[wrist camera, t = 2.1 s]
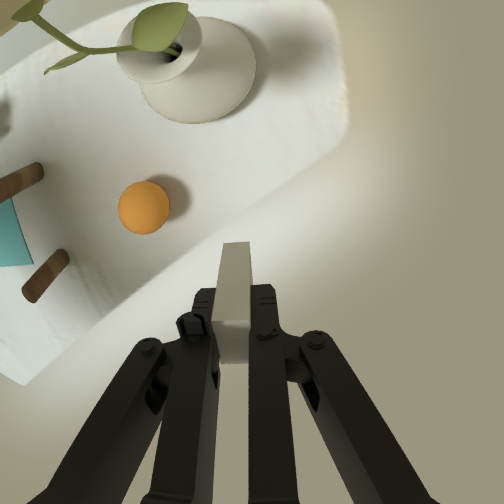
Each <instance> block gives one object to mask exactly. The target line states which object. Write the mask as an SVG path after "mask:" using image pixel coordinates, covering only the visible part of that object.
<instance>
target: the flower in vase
mask: <svg viewBox="0 0 504 504" xmlns="http://www.w3.org/2000/svg"><path fill="white" fill-rule="evenodd" d="M49 1H50V0H0V37H1V36H2V35H4V34H5V33H6V32H8V31H9V30H10V29H12V28H13V27H14V26H16V25H17V24H18V23H19V22H26V21H30V20H32V21H33V22H34V23H35V24H37V25H38V26H39V27H41V28H42V29H43V30H45V31H46V32H47V33H49V34H50V35H52V36H53V37H54V38H56V39H57V40H59V41H60V42H62V43H63V44H65V45H66V46H68V47H69V48H71V49H73V50H75V51H77V52H79V53H76V54H73V55H71V56H68V57H66V58H64V59H63V60H61V61H59V62H58V63H56V64H55V65H54V66H52V67H50V68H48V69H46V70H45V71H44V75H45V74H46V73H47V72H49V71H50V70H57V69H60V68H63V67H66V66H68V65H71V64H73V63H75V62H78V61H79V60H81V59H83V58H85V57H86V56H88V55H90V54H92V55H94V54H107V53H117V61H118V64H119V66H120V68H121V70H122V71H123V72H124V74H125V75H127V76H128V77H129V78H130V79H132V80H134V81H136V82H139V84H140V88H141V91H142V94H143V96H144V98H145V100H146V101H147V103H148V104H149V105H150V106H151V108H153V109H154V110H155V111H156V112H157V113H158V114H160V115H161V116H163V117H165V118H167V119H169V120H172V121H174V122H179V123H184V124H200V123H206V122H210V121H213V120H216V119H218V118H221V117H222V116H224V115H226V114H228V113H229V112H231V111H232V110H233V109H235V108H236V107H237V106H238V105H239V104H240V103H241V102H242V101H243V100H244V98H245V97H246V95H247V94H248V92H249V91H250V89H251V87H252V84H253V81H254V78H255V73H256V58H255V54H254V50H253V48H252V45H251V44H250V42H249V40H248V39H247V37H246V36H245V35H244V34H243V33H242V32H241V31H240V30H239V29H238V28H236V27H235V26H233V25H232V24H230V23H228V22H226V21H223V20H220V19H217V18H212V17H195V16H194V15H193V14H191V13H190V12H189V11H188V4H186V3H179V2H171V3H162V4H157V5H153V6H150V7H148V8H146V9H144V10H142V11H141V12H140V13H139V14H138V15H137V16H136V17H135V18H134V19H132V20H131V21H130V22H129V23H128V25H127V26H126V27H125V28H124V30H123V32H122V33H121V35H120V38H119V40H118V44H117V47H110V48H87V47H83V46H81V45H79V44H77V43H76V42H74V41H73V40H71V39H70V38H68V37H67V36H65V35H64V34H63V33H61V32H60V31H59V30H57V29H56V28H55V27H53V26H52V25H51V24H49V23H48V22H47V21H45V20H44V19H43V18H42V17H41V16H40V15H38V14H39V13H40V11H41V10H42V8H43V5H44V4H46V3H48V2H49Z"/></svg>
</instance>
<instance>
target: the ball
mask: <svg viewBox="0 0 504 504" xmlns="http://www.w3.org/2000/svg"><path fill="white" fill-rule="evenodd" d="M169 208H170V206H169V200H168V197H167V195H166V193H165V192H164V190H163V189H162V188H161V187H160V186H158V185H157V184H154V183H152V182H146V181H143V182H137V183H135V184H133V185H131V186H129V187H128V188H127V189H126V190H125V191H124V192H123V194H122V196H121V197H120V200H119V204H118V213H119V217H120V220H121V222H122V223H123V225H124V226H125V227H126V228H127V229H128V230H130V231H131V232H133V233H136V234H150V233H153V232H155V231H157V230H158V229H159V228H161V227H162V225H163V224H164V223H165V221H166V220H167V217H168V215H169Z"/></svg>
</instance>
